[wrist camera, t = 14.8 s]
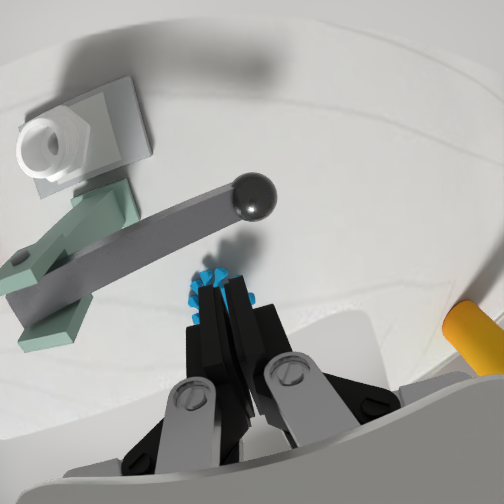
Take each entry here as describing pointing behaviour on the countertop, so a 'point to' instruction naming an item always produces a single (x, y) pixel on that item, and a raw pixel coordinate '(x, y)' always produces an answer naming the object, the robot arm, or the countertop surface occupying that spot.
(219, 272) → the gear
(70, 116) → the pipe fitting
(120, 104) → the press
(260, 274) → the countertop surface
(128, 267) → the lever
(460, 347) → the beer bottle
